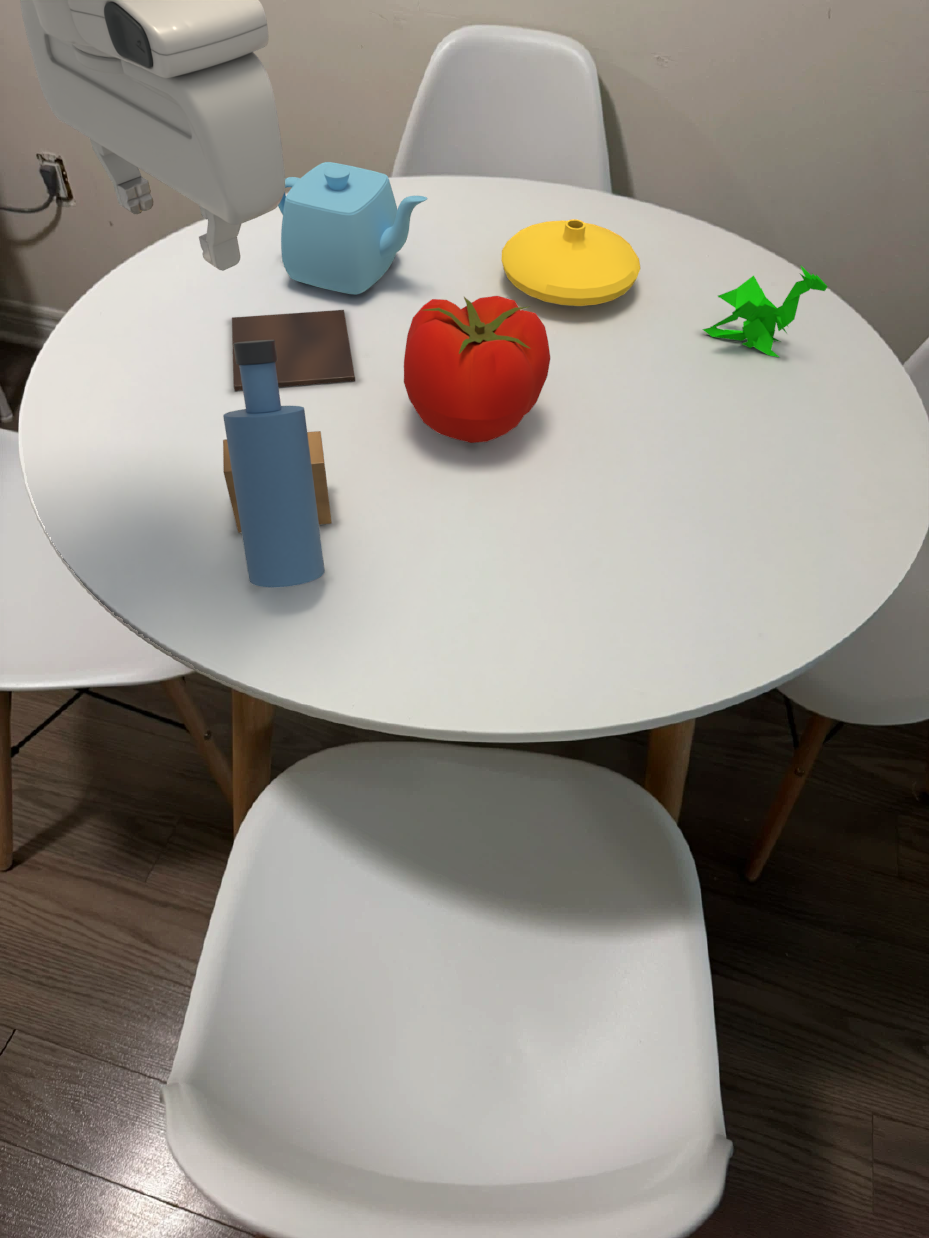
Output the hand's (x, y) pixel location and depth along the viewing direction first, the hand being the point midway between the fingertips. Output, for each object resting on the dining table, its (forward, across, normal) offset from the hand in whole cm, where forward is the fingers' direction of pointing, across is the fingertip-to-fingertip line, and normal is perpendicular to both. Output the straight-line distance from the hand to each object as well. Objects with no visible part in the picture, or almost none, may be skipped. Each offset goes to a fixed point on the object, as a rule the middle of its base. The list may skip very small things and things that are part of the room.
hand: (179, 235), depth 57 cm
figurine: (+26, +17, +55) cm, 63 cm away
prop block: (+26, +2, +2) cm, 26 cm away
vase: (+26, -4, +49) cm, 56 cm away
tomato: (+26, +5, +24) cm, 36 cm away
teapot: (+26, -23, +33) cm, 47 cm away
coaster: (+26, -16, +18) cm, 35 cm away
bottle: (+26, +6, 0) cm, 26 cm away
